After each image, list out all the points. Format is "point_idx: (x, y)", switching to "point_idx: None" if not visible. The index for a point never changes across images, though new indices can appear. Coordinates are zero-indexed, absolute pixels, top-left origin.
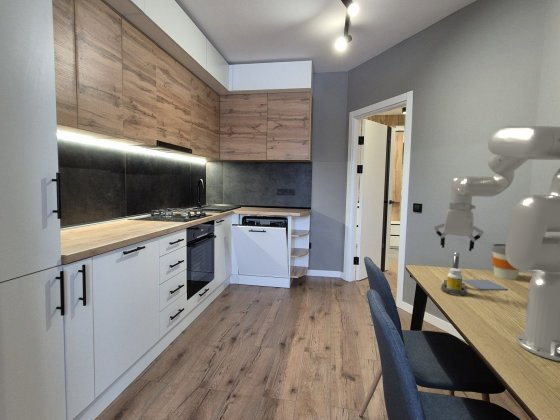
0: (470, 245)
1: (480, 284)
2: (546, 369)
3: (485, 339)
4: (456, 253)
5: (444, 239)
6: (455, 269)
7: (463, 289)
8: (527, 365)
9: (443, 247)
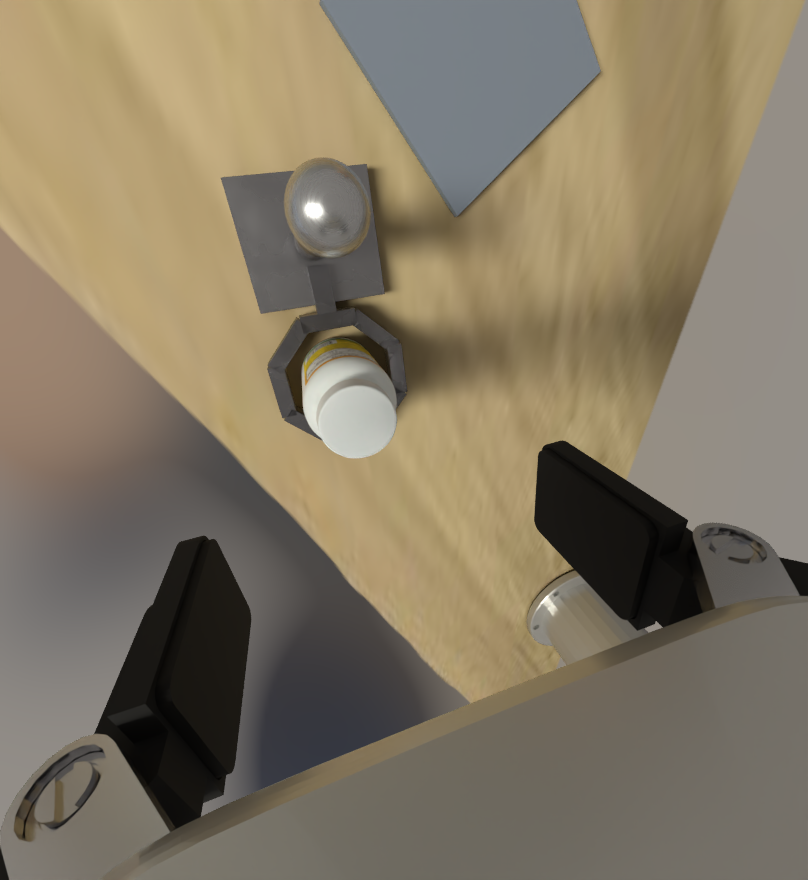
0: (589, 579)
1: (455, 79)
2: (549, 663)
3: (471, 654)
4: (336, 246)
5: (230, 763)
6: (359, 421)
7: (384, 348)
8: (526, 674)
9: (243, 614)
